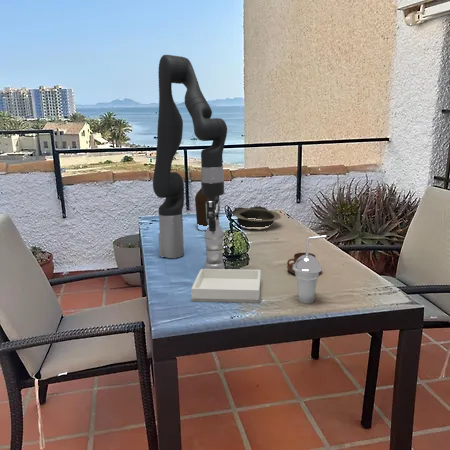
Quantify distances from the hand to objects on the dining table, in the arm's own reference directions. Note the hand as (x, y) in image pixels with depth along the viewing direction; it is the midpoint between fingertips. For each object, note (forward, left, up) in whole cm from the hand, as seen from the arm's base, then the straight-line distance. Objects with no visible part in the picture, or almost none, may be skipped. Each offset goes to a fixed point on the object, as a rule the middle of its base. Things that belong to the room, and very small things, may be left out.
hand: (214, 228), depth 146 cm
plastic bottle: (0, 0, -17) cm, 17 cm away
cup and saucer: (+31, +5, -17) cm, 36 cm away
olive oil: (-13, +68, -17) cm, 71 cm away
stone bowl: (+12, +73, -17) cm, 76 cm away
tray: (+6, -14, -17) cm, 23 cm away
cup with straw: (+30, -20, -17) cm, 40 cm away
